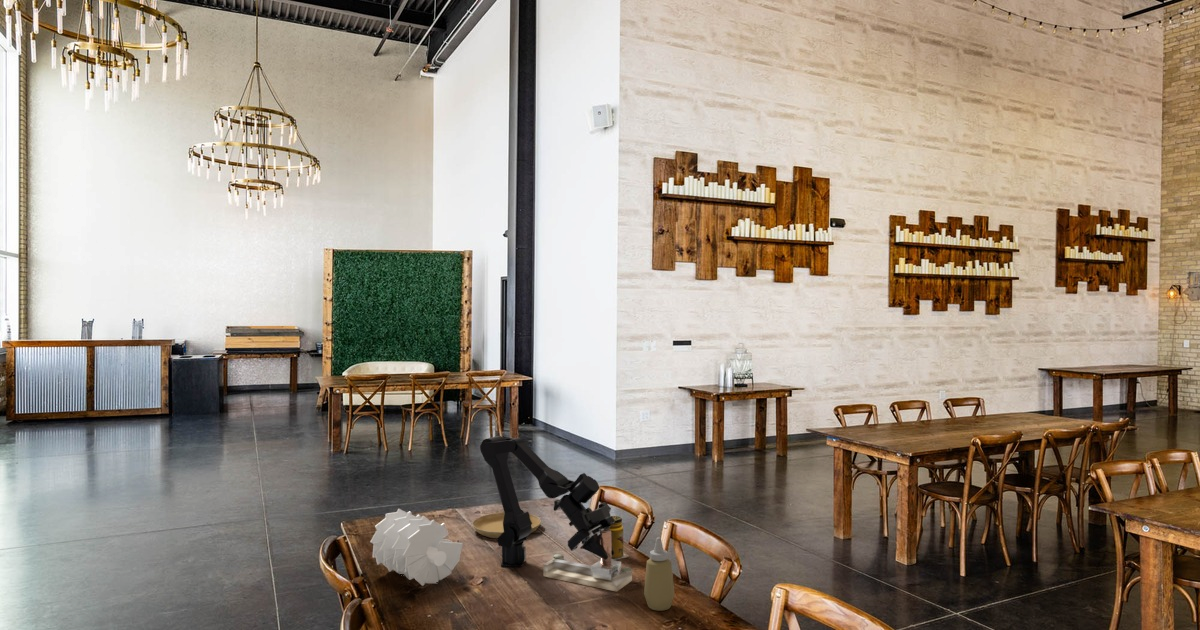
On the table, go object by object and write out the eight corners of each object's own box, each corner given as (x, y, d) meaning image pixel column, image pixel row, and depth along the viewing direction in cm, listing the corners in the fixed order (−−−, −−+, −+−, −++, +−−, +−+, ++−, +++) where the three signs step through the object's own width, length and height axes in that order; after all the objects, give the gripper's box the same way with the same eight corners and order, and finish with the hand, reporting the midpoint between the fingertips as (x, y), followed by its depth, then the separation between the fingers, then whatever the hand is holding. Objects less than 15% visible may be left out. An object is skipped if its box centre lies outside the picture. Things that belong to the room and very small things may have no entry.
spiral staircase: (426, 605, 201) (379, 578, 218) (473, 562, 212) (425, 540, 229) (402, 554, 194) (355, 530, 211) (451, 513, 206) (403, 494, 223)
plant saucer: (549, 522, 264) (549, 513, 264) (528, 543, 241) (528, 533, 240) (487, 518, 269) (487, 510, 269) (461, 539, 246) (461, 529, 246)
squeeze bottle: (641, 601, 192) (641, 533, 192) (671, 599, 193) (671, 532, 192) (646, 614, 184) (645, 543, 184) (677, 612, 185) (676, 542, 184)
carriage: (590, 578, 204) (590, 533, 204) (603, 570, 210) (602, 526, 210) (609, 582, 201) (608, 536, 201) (621, 573, 207) (620, 529, 207)
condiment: (629, 556, 226) (628, 518, 226) (606, 562, 222) (606, 523, 221) (615, 550, 232) (615, 513, 232) (593, 555, 228) (593, 517, 228)
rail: (541, 575, 211) (541, 562, 211) (557, 565, 219) (557, 553, 219) (619, 592, 198) (619, 578, 198) (634, 581, 206) (634, 567, 206)
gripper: (576, 503, 199) (611, 549, 194) (608, 488, 215) (642, 530, 210) (552, 527, 203) (586, 573, 198) (586, 511, 219) (619, 553, 214)
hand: (610, 556), depth 205 cm, fingers closed on carriage, 3 cm apart
